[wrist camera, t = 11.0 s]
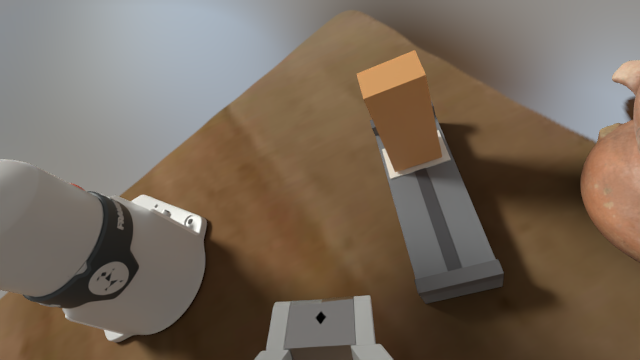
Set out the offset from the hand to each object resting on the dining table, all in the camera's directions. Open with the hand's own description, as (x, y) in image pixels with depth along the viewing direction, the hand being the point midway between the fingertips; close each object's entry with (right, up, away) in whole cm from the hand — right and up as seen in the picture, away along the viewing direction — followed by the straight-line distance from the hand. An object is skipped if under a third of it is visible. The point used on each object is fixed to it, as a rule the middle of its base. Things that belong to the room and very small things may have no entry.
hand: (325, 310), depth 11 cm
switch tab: (+10, +7, +27) cm, 30 cm away
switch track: (+12, +2, +28) cm, 30 cm away
